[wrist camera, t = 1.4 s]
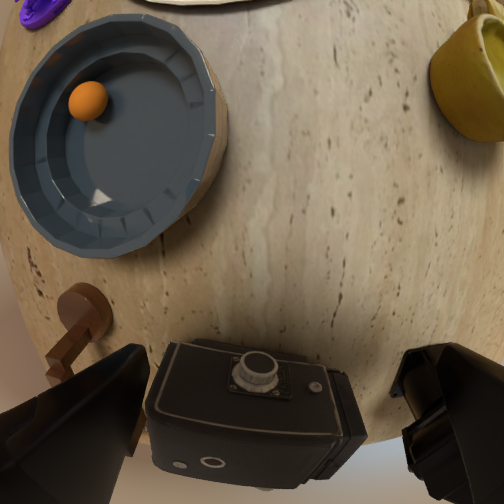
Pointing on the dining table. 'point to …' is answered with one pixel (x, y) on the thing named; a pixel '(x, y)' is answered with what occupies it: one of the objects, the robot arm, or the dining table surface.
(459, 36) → the mug
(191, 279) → the dining table surface
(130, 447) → the dark upright block
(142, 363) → the robot arm
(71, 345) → the ladle
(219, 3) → the plate
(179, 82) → the bowl
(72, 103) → the orange ball
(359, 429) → the camera
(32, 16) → the figurine
